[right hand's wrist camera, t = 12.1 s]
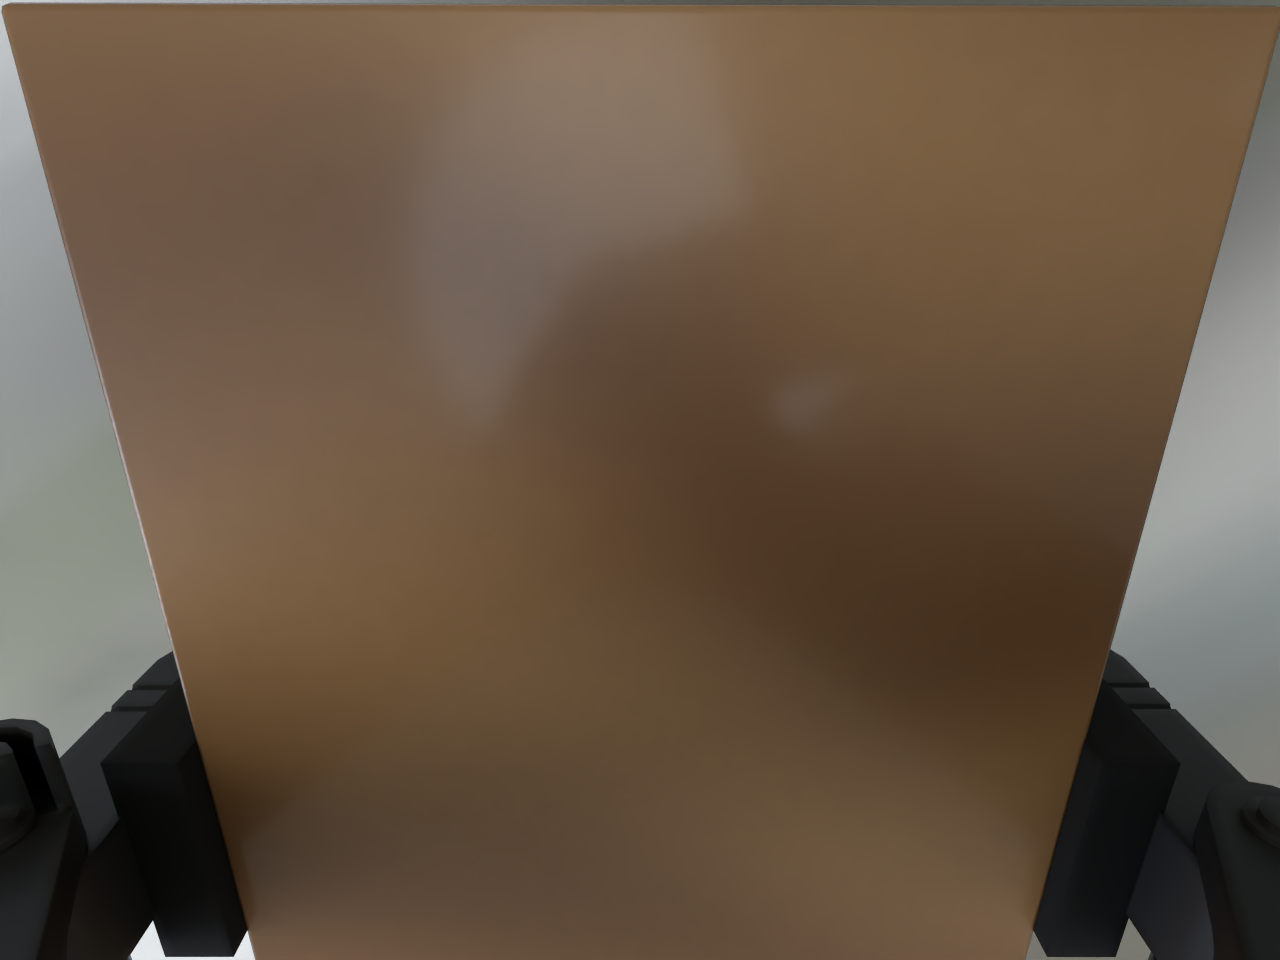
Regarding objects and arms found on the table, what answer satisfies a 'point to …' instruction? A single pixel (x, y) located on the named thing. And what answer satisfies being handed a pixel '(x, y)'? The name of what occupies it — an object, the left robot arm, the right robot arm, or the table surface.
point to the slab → (641, 442)
